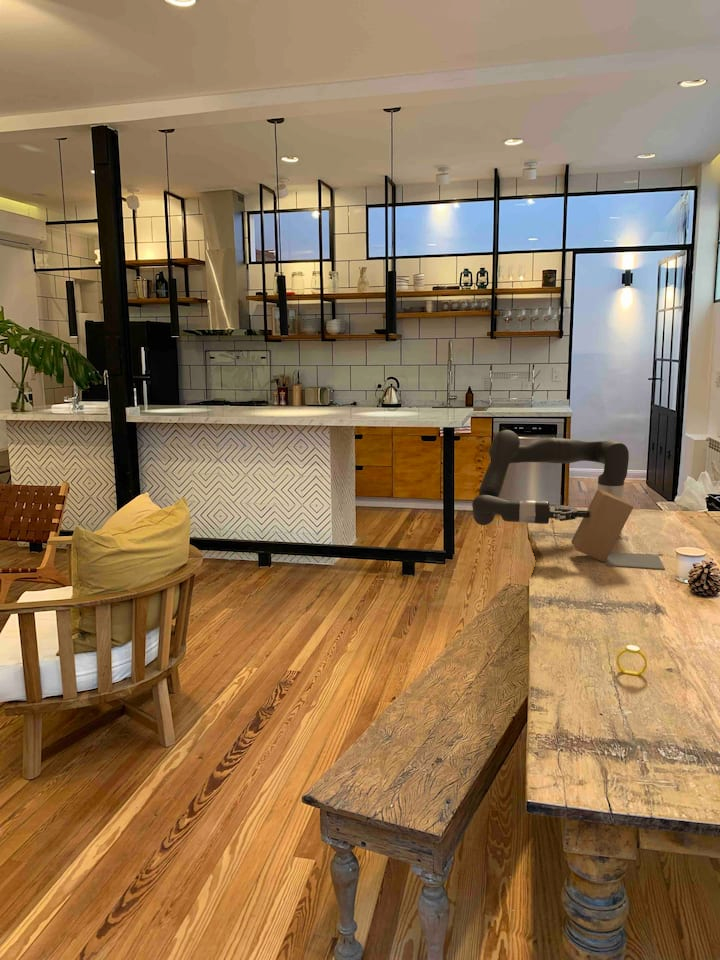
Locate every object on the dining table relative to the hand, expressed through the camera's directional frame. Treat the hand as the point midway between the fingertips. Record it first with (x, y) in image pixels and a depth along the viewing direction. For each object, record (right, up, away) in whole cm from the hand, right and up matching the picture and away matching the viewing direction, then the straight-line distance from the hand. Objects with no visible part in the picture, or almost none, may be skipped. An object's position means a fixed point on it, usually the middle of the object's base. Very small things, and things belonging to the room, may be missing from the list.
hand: (589, 513), depth 231 cm
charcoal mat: (+14, -15, 0) cm, 21 cm away
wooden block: (0, -13, +4) cm, 13 cm away
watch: (-16, -30, -78) cm, 85 cm away
